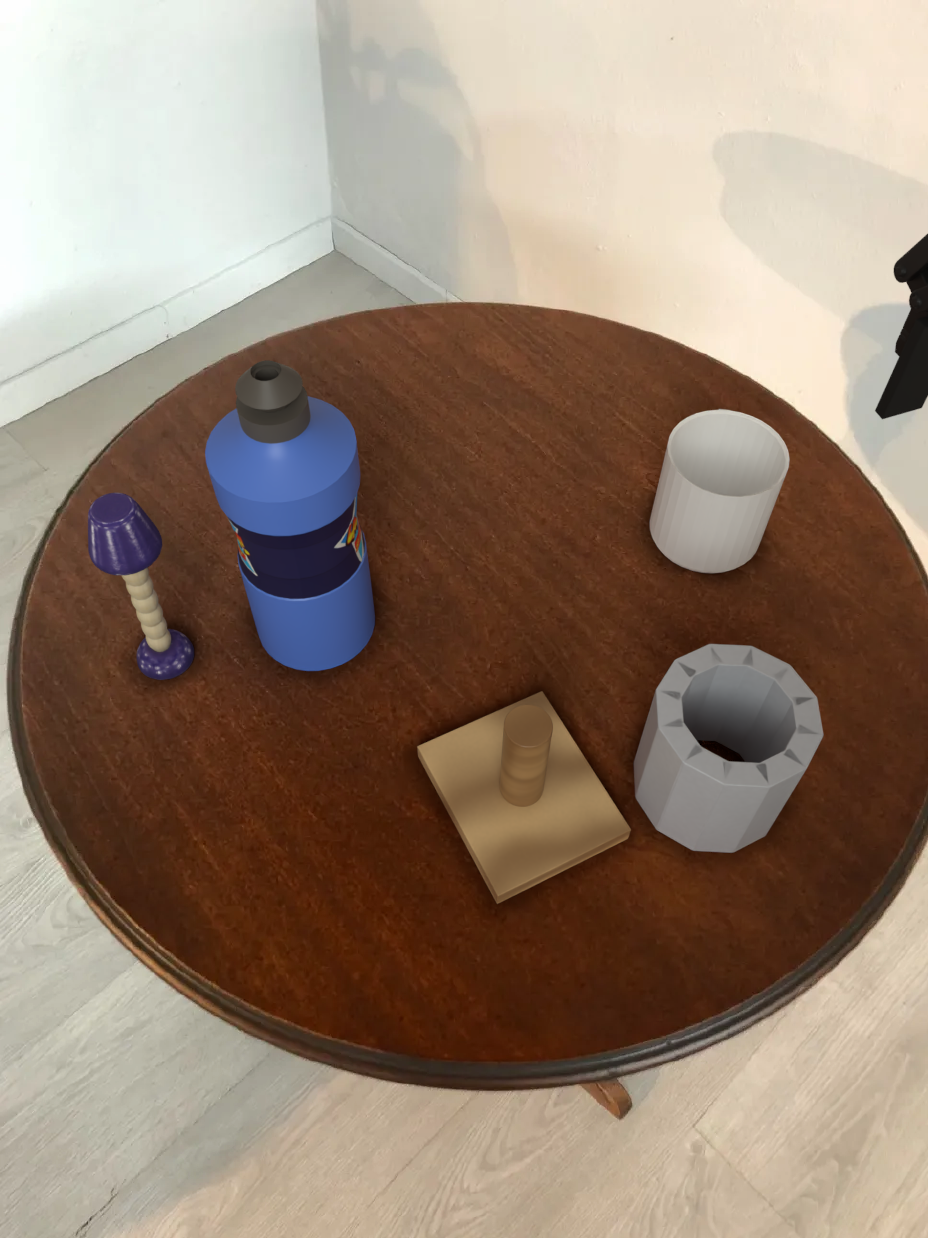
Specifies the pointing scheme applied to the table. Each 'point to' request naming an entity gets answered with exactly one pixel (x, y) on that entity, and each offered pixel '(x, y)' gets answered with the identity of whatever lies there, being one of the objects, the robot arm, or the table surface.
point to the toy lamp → (137, 579)
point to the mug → (717, 490)
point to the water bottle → (294, 518)
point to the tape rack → (522, 795)
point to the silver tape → (740, 720)
